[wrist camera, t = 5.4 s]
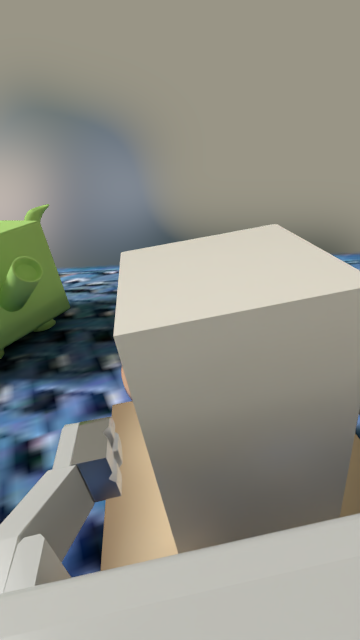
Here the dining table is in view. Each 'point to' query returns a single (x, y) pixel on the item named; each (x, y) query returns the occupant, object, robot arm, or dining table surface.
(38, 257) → the kettle
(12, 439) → the dining table surface
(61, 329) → the dining table surface
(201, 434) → the tall cream pillar
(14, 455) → the dining table surface
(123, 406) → the cork mat
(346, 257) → the dining table surface
